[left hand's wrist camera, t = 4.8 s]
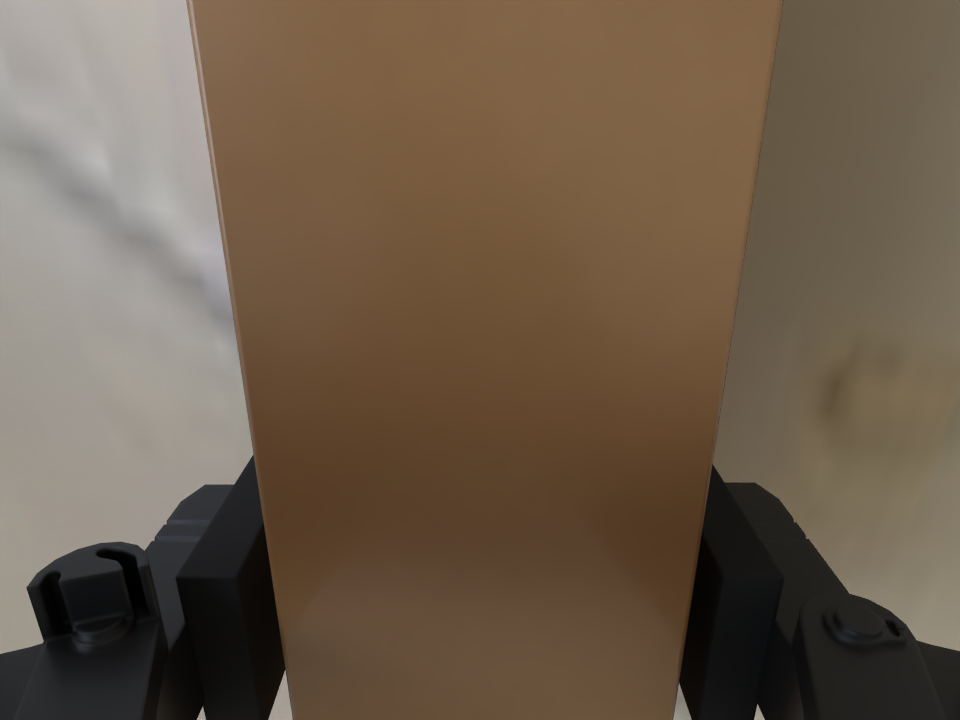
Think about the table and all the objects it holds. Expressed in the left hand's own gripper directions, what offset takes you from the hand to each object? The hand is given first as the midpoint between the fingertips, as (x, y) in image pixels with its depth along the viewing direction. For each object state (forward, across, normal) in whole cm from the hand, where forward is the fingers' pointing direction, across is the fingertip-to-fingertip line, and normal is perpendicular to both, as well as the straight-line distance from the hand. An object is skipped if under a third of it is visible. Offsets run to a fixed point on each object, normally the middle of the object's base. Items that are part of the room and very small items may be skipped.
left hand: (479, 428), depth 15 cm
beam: (+1, 0, -28) cm, 28 cm away
